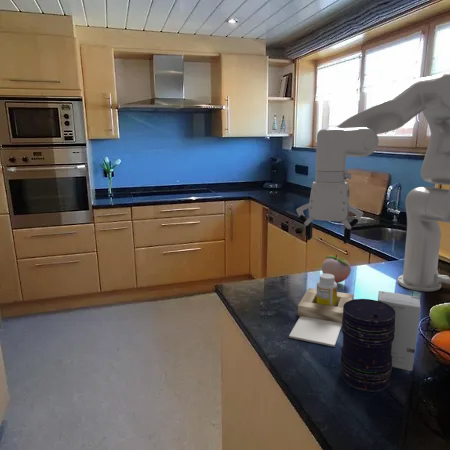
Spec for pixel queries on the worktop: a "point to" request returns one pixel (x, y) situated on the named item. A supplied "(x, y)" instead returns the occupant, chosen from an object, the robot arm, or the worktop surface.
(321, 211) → the robot arm
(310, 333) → the pad
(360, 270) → the worktop surface
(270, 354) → the worktop surface
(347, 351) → the dark blue cylinder
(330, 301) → the supplement bottle
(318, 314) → the socket block
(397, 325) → the skincare box
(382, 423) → the worktop surface
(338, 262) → the decorative fruit
